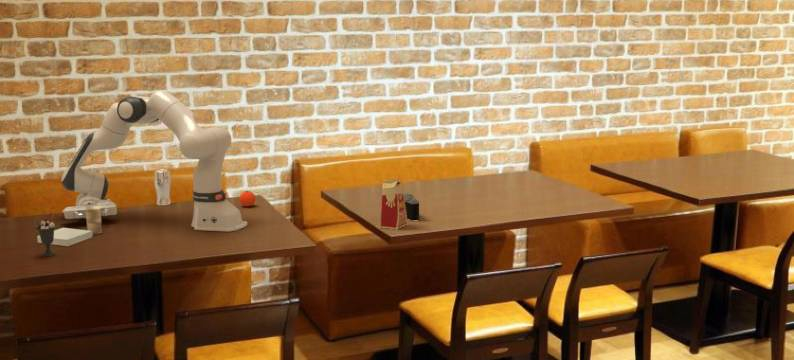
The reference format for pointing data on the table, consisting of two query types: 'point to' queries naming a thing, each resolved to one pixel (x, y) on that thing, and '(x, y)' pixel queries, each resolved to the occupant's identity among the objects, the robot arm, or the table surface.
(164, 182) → the beer glass
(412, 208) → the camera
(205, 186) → the robot arm
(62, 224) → the table surface
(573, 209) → the table surface
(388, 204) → the milk carton
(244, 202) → the clementine
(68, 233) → the trivet
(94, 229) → the beech block
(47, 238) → the sundae
